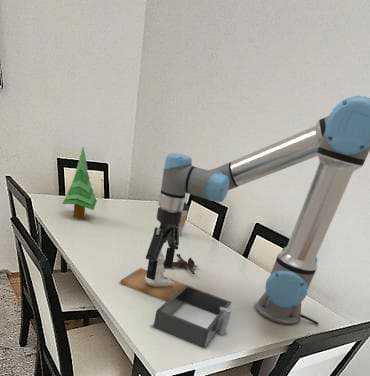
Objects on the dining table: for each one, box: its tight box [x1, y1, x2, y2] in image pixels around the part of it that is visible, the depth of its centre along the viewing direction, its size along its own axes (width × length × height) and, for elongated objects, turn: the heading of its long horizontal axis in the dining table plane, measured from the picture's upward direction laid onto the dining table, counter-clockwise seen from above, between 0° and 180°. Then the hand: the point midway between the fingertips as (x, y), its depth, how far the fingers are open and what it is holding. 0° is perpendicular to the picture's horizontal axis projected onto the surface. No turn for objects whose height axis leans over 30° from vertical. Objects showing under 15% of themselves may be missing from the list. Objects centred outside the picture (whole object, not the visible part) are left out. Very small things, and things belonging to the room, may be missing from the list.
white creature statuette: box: [145, 250, 174, 287], centre depth 127 cm, size 10×9×12 cm
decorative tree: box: [62, 147, 98, 220], centre depth 167 cm, size 14×16×30 cm
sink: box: [153, 284, 232, 348], centre depth 114 cm, size 18×22×8 cm
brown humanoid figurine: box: [163, 253, 198, 276], centre depth 149 cm, size 18×4×14 cm
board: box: [120, 267, 186, 302], centre depth 131 cm, size 20×14×1 cm
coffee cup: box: [179, 201, 190, 237], centre depth 179 cm, size 9×9×15 cm
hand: (159, 272), depth 128 cm, fingers open, 13 cm apart
